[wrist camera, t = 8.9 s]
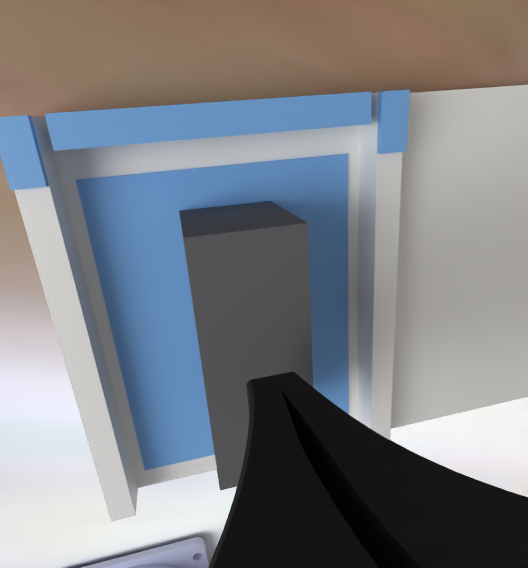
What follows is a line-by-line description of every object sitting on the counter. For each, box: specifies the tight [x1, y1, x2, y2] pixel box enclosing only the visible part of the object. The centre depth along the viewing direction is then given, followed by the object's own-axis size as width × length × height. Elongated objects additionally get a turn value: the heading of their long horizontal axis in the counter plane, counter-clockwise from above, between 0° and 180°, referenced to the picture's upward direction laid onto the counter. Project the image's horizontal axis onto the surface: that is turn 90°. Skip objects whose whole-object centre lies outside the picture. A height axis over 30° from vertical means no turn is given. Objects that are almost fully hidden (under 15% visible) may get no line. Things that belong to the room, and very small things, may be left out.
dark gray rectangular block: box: [179, 201, 313, 490], centre depth 15 cm, size 9×4×4 cm, turn 4°
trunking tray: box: [0, 85, 528, 521], centre depth 18 cm, size 16×25×3 cm, turn 94°
